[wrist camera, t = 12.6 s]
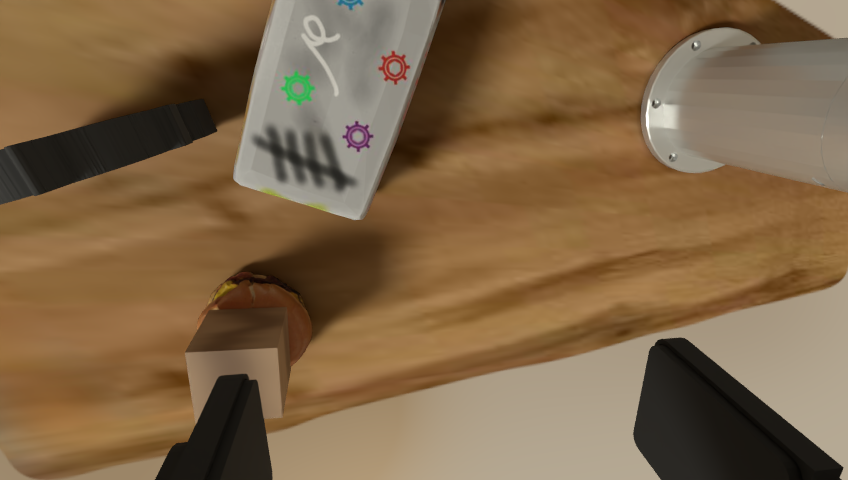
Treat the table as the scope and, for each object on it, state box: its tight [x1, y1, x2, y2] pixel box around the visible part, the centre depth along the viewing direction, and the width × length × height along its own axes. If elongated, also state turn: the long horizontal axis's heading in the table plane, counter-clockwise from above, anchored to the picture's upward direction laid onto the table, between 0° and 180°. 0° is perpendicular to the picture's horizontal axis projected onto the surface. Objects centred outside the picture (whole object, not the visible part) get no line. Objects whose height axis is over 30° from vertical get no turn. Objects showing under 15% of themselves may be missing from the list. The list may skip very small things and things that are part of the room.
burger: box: [197, 272, 312, 366], centre depth 40 cm, size 10×9×5 cm
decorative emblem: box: [0, 99, 217, 204], centre depth 28 cm, size 12×2×15 cm, turn 105°
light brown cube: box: [185, 307, 291, 423], centre depth 35 cm, size 6×6×6 cm
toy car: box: [233, 0, 445, 220], centre depth 31 cm, size 11×25×10 cm, turn 159°
